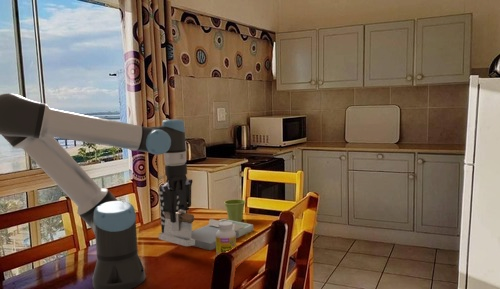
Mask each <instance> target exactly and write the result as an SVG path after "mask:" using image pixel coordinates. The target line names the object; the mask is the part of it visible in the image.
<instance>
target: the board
mask: <svg viewBox="0 0 500 289" xmlns="http://www.w3.org/2000/svg"><path fill="white" fill-rule="evenodd" d="M218 230H219V227H215V226H210V225H209V224H205V225H204V226H203V225H202V226H201V227H199V228H195V229H192V235H191V238H192V239H195V245H192V247H196V248H200V249H203V250H207V251H212V250H215V249H216V232H217V231H218ZM235 232H236V239H238V238H239V237H238V231H235Z"/></svg>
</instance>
